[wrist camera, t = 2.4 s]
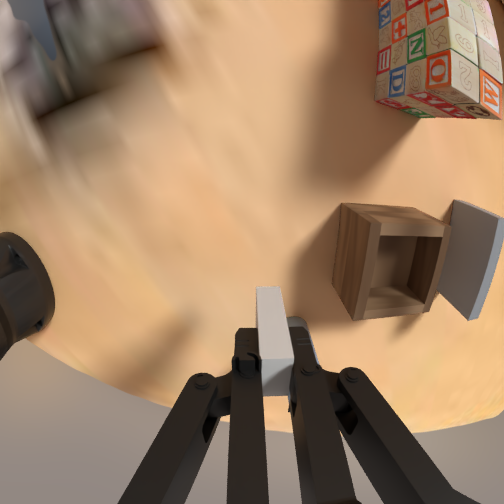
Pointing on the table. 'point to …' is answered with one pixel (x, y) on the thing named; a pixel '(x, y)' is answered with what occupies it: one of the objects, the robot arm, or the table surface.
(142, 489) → the robot arm
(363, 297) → the slider block
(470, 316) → the wall
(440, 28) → the stack of blocks
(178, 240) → the table surface
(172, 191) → the table surface
